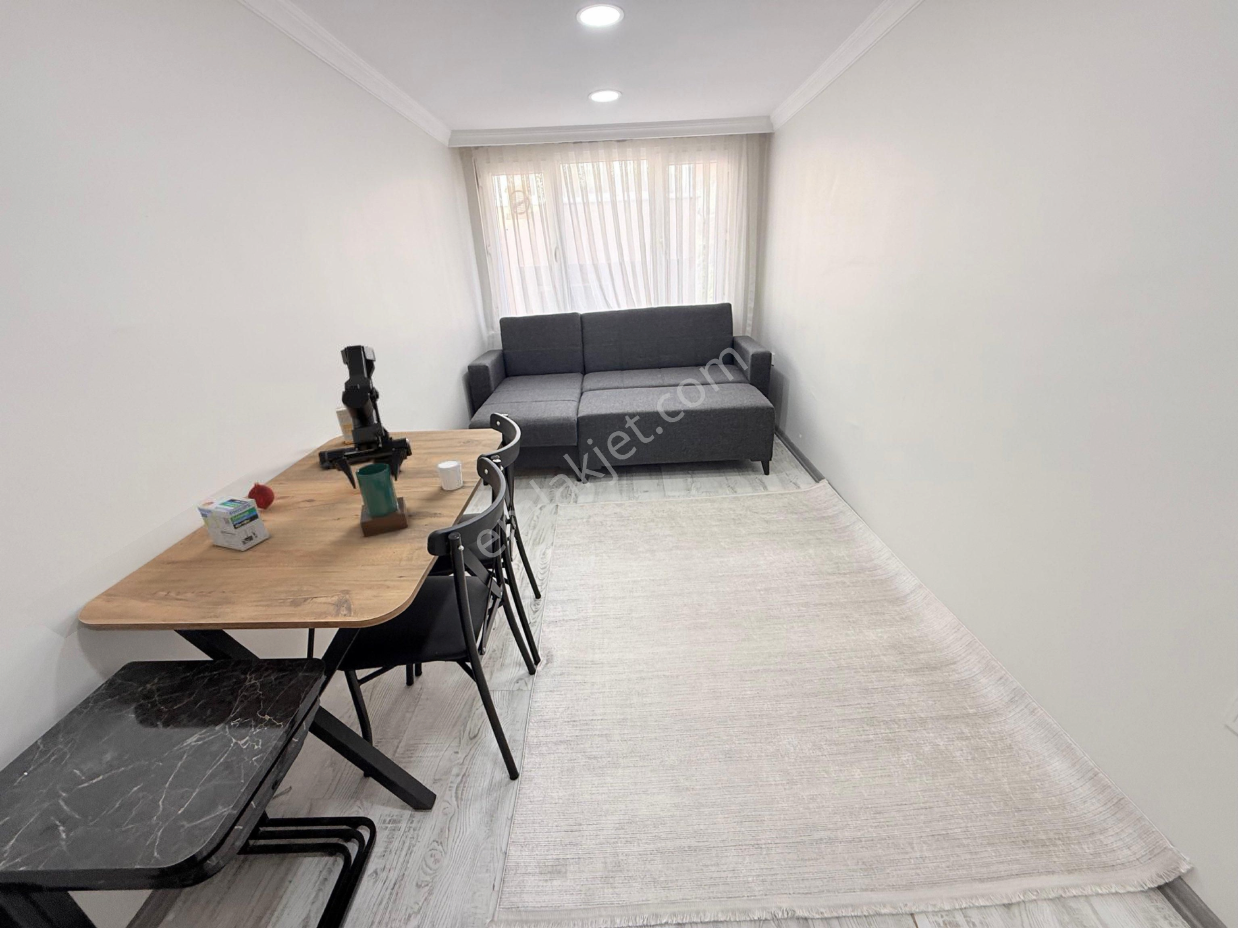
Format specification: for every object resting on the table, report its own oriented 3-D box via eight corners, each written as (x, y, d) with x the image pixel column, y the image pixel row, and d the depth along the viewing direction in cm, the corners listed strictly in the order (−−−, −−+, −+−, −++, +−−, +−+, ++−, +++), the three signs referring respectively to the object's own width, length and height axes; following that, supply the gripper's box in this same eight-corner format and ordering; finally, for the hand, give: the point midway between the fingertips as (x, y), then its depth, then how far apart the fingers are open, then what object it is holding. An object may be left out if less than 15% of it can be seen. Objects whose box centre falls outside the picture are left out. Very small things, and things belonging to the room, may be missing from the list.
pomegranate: (282, 505, 137) (273, 479, 133) (261, 515, 132) (251, 488, 129) (269, 502, 139) (260, 476, 136) (248, 511, 134) (238, 485, 131)
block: (365, 518, 128) (361, 505, 126) (406, 509, 131) (403, 496, 130) (364, 537, 119) (359, 522, 118) (408, 527, 123) (404, 513, 121)
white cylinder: (468, 480, 147) (464, 459, 144) (459, 491, 140) (455, 469, 138) (446, 480, 147) (441, 459, 145) (436, 491, 141) (431, 468, 138)
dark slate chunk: (390, 459, 165) (387, 446, 163) (317, 471, 158) (313, 457, 156) (393, 444, 178) (390, 432, 176) (326, 454, 172) (322, 442, 170)
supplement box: (368, 436, 188) (359, 403, 182) (369, 439, 184) (361, 406, 179) (344, 441, 184) (334, 407, 179) (345, 444, 180) (335, 410, 175)
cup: (360, 515, 121) (348, 474, 117) (378, 501, 128) (368, 462, 123) (387, 517, 120) (376, 476, 115) (404, 502, 126) (395, 463, 122)
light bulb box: (270, 537, 121) (255, 498, 117) (243, 552, 115) (227, 511, 111) (240, 531, 124) (224, 493, 120) (212, 545, 119) (195, 506, 114)
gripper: (314, 419, 114) (323, 480, 109) (401, 406, 121) (412, 463, 116) (327, 440, 124) (335, 497, 119) (406, 427, 131) (417, 481, 126)
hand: (375, 484), depth 120 cm, fingers open, 9 cm apart
